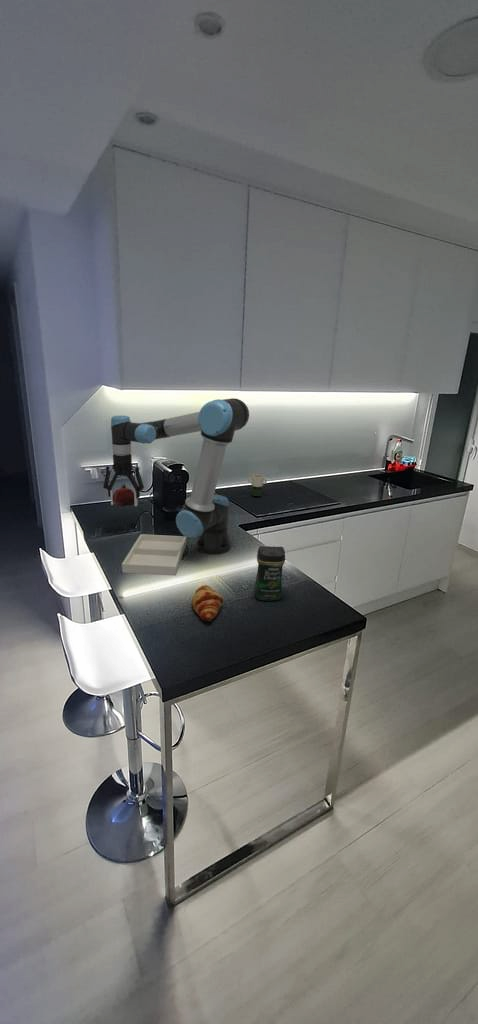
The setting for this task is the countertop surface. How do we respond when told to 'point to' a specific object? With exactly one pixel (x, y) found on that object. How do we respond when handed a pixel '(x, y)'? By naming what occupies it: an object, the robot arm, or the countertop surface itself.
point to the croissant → (206, 602)
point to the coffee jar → (269, 573)
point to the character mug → (257, 484)
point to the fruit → (124, 496)
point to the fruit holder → (155, 555)
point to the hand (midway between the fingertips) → (124, 504)
